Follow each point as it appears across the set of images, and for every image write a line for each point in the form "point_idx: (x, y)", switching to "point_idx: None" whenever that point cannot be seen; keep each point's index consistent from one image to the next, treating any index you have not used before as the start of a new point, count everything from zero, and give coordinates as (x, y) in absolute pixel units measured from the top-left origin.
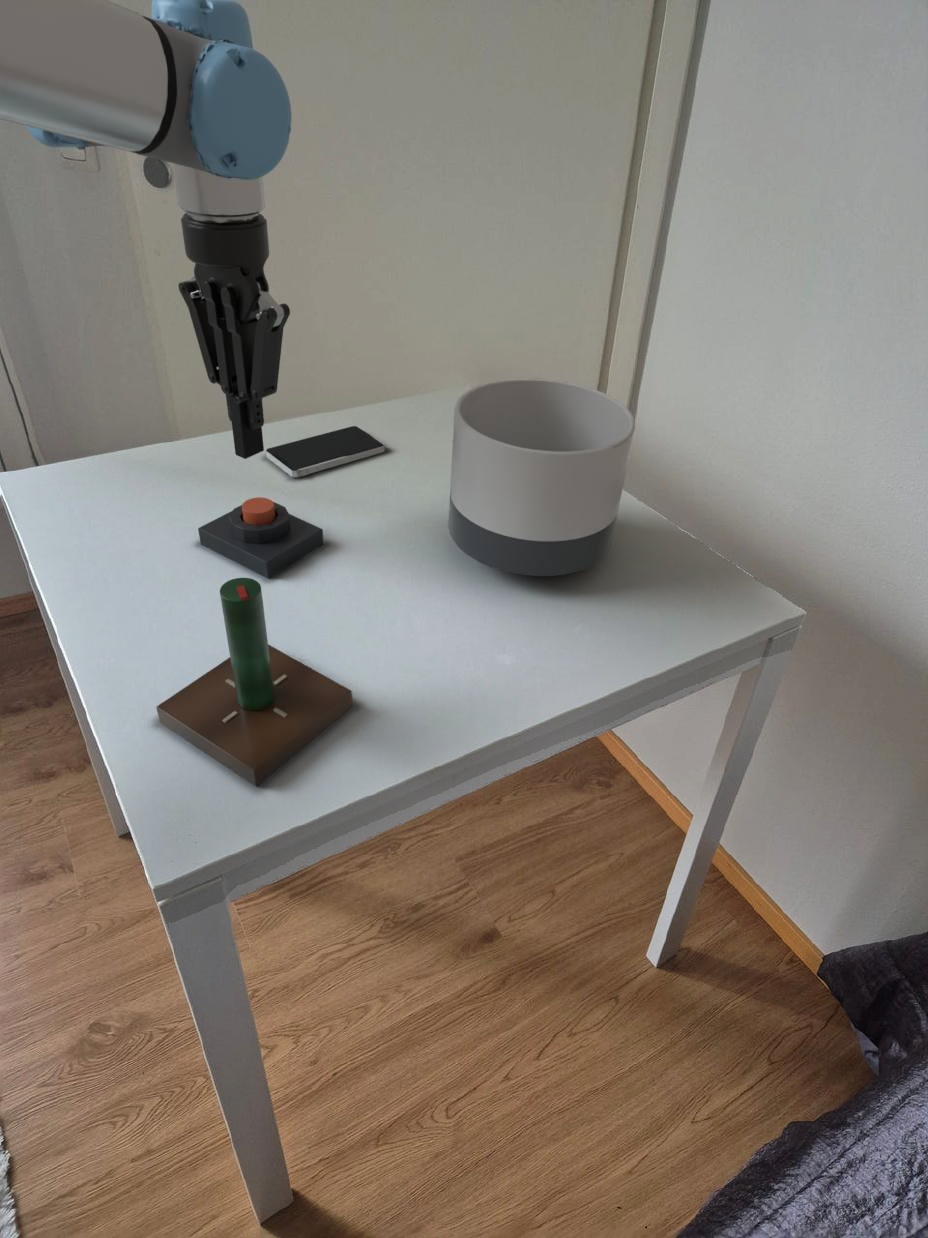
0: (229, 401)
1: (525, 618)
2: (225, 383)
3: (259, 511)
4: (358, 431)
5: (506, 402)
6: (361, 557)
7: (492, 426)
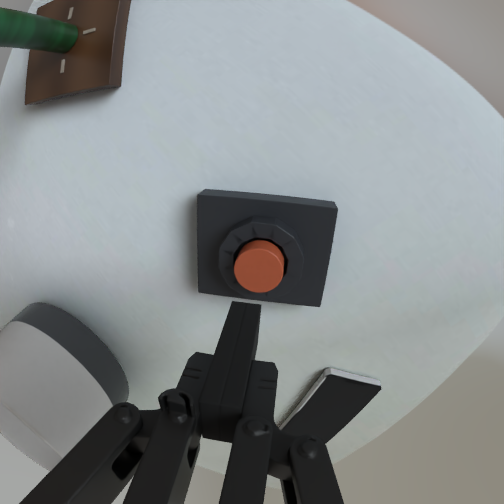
0: (240, 397)
1: (28, 271)
2: (247, 441)
3: (243, 258)
4: None
5: None
6: (157, 281)
7: None
